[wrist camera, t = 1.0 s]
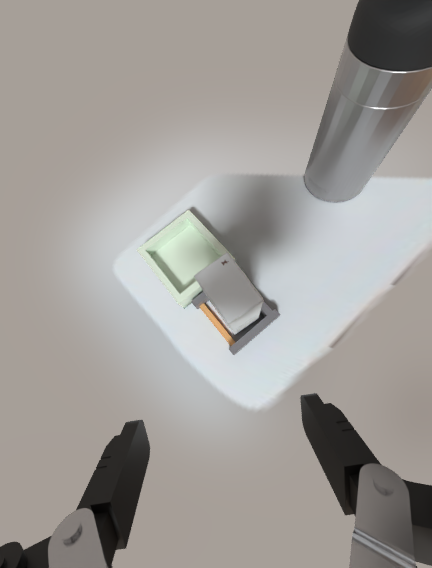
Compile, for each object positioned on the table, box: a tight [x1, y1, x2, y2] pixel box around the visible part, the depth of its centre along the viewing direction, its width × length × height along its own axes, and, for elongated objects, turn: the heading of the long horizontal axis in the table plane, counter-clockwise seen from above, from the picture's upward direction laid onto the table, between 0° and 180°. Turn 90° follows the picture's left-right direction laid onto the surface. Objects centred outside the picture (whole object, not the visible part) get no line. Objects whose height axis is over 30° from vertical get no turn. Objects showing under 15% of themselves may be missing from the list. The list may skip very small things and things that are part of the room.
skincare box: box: [194, 252, 264, 334], centre depth 27 cm, size 6×4×12 cm
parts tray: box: [137, 210, 235, 308], centre depth 34 cm, size 10×11×3 cm
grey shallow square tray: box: [191, 291, 280, 355], centre depth 32 cm, size 8×9×2 cm
